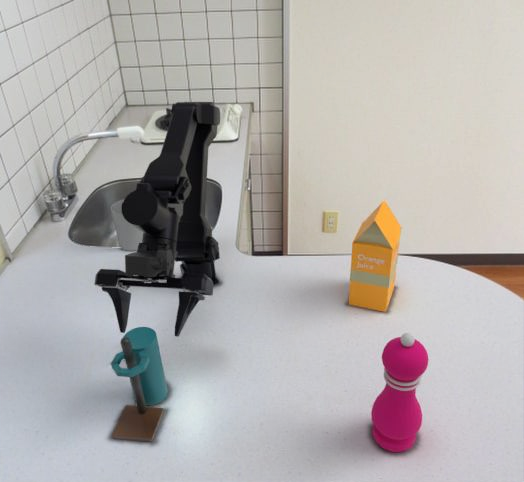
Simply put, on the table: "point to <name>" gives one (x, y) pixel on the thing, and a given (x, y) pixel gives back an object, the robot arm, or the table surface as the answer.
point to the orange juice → (375, 260)
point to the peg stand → (136, 408)
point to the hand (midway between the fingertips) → (149, 334)
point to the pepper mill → (399, 394)
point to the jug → (145, 364)
